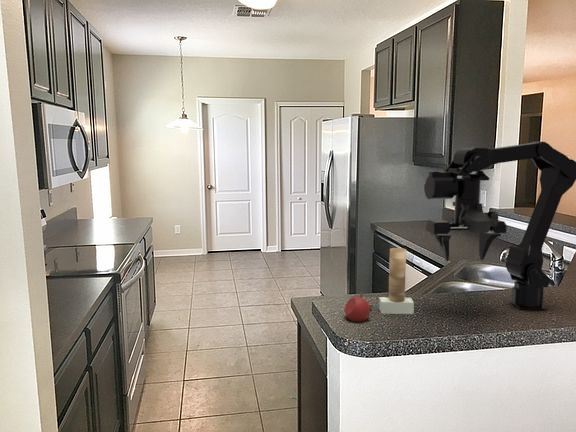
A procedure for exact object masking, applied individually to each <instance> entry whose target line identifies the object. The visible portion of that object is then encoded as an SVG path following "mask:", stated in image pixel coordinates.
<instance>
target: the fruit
mask: <svg viewBox="0 0 576 432" xmlns="http://www.w3.org/2000/svg"><path fill="white" fill-rule="evenodd" d="M376 299H378V300H379V297H378V296H377V297H376V298H375V299H373V300H372V301H371V302H368V301H367V300H366V299H365V298H364V297H362V298H361V297H359V296H354V297H353V296H352V297H350V298H349V299H348V301H346V304H345V307H344V313H345V317H346V318H347V319H348V320H350V321H351V322H357V323H362V322H365V321H366V320H367V319H368V318H369V317H370V313H371V308H370V306H369V304H372V303H373V302H374V301H375V300H376ZM368 316H369V317H368Z"/></svg>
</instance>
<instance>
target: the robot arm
mask: <svg viewBox="0 0 576 432" xmlns="http://www.w3.org/2000/svg"><path fill="white" fill-rule="evenodd" d="M529 159H530V160H532V163H533V165H534V166H535V168H537V169H538V170H539V171H540V176H539V182H540V183H539V184H540V193H539V195H538V198H537V201H536V203H535V206H534V208H533V211H532V214H531V215H530V216H531V217H530V219H529V221H528V225H527V227H526V229H525V232H524V235H523V237H522V240H521V242H520V243H519V244H518V245H516V246H513V245H510V246H509V249H508V253H507V255H506V257H505V258H504V261H505V269H506V270H507V272H508V273H509V275H510V279H511V280H512V281H514V282H513V283H514V286H512V287H511V288H512V289H511V300H510V303H511V304H512V305H513V306H515V307H516V308H517V309H519V310H523V311H525V310H528V311H529V310H533V311H538V310H539V311H545V310H546V307H544V305H543V303H544V300H543V299H544V292H545V291H544V288H548V287H549V284H550V282H551V278H550V277H549V276H548V275H547V274H546V272H544V270H543V265H544V256H543V247H544V243H545V241H546V239H547V236H548V233H549V230H550V228H551V225H552V223H553V221H554V220H553V219H554V218H555V215H556V212H557V209H558V207H559V205H560V202H561V199H562V197H563V195H565V194H566V193H567V192H568V191H569V190H570V189H571V188H573V185H574V184H575V182H576V161H575V160H574V159H572V158H569V157H568V155H566V154H564V153H562V152H561V151H559V150H557V149H556V148H553V146H551V145H550V144H549V143H548V142H546V141H531V142H528V143H522V144H514V145H508V146H500V147H493V148H487V147H462V148H459V149H457V150H456V152H455V153H454V155H453V158H452V161H451V162H449V163H450V164H449V165H448V166H447V167H446V169H445V170H444V171H433V170H431V171H429V172H428V176H427V178H426V179H425V183H424V185H423V186H424V187H423V188H424V189H423V190H424V195H425V197H426V199H427V200H447V199H449V200H451V199H453V198H454V197H455V198H454V201H452V207H454V214H453V215H454V217H451V222H449V221H447V220H443V219H428V221H427V222H426V225H425V232H429V233H430V234H431V236H434V237H435V238H436V240H437V242H438V244H439V248H440V250H441V252H442V256H443V258H444V260H445V261H446V262H448V261H449V260H450V240H451V238H452V235H451V234H449V233H450V232H451V231H469V232H470V233H474V234H476V233H478V234H479V235H478V239H479V240H478V243H479V244H478V254H479V255H478V256H479V260H480V261H484V259H485V257H486V256H487V253H488V251H489V248H490V246H491V244H492V243H493V241H494V240H495V239H497V238H498V237H501V236H502V234H506V233H507V228H508V225H507V223H506V222H505V221H504V220H499V213H498V212H497V211H494V210H493V211H490V210H489V211H487V212H484V210H483V204H482V203H480V200H481V198H480V197H481V183H482V182H481V181H490V177H489V176H488V175H486V173H485V172H484V171H483V170H485V169H488V168H491V167H492V166H494V165H498V164H502V163H509V162H510V163H511V162H515V161H516V162H517V161H523V160H529ZM474 172H475V173H474Z"/></svg>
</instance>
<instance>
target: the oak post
mask: <svg viewBox="0 0 576 432" xmlns="http://www.w3.org/2000/svg"><path fill="white" fill-rule="evenodd" d="M388 264H389V267H388V268H389V270H388V273H389V274H388V297H389V301H392V302H404V301H405V298H406V271H407V269H406V267H407V265H406V264H407V249H406V248H403V247H393V248H392V247H391V248H389V263H388Z"/></svg>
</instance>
